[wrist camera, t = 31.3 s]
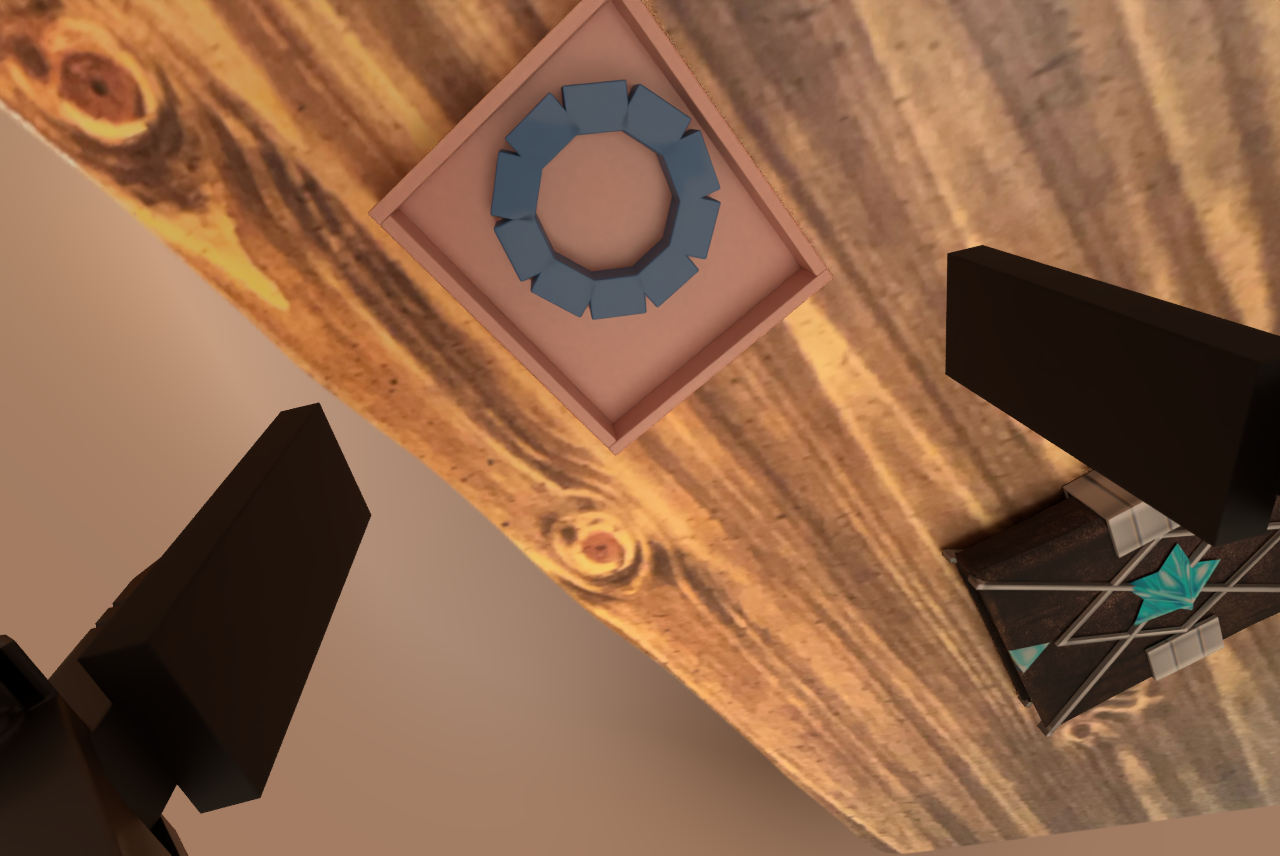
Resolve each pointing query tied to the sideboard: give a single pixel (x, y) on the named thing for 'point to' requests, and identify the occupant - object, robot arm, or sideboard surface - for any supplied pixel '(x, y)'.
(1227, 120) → the sideboard surface
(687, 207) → the ring
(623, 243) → the tray
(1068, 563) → the book
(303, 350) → the sideboard surface
